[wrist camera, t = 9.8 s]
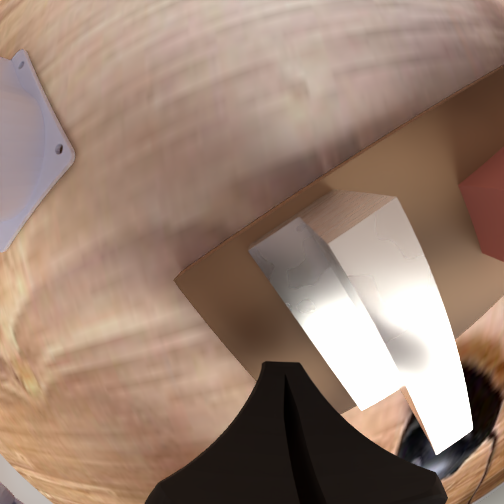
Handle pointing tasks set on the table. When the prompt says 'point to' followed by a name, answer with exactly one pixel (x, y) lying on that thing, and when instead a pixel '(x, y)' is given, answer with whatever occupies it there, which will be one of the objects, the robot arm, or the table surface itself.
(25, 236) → the table surface
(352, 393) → the bookend
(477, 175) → the red block
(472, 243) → the shelf board
